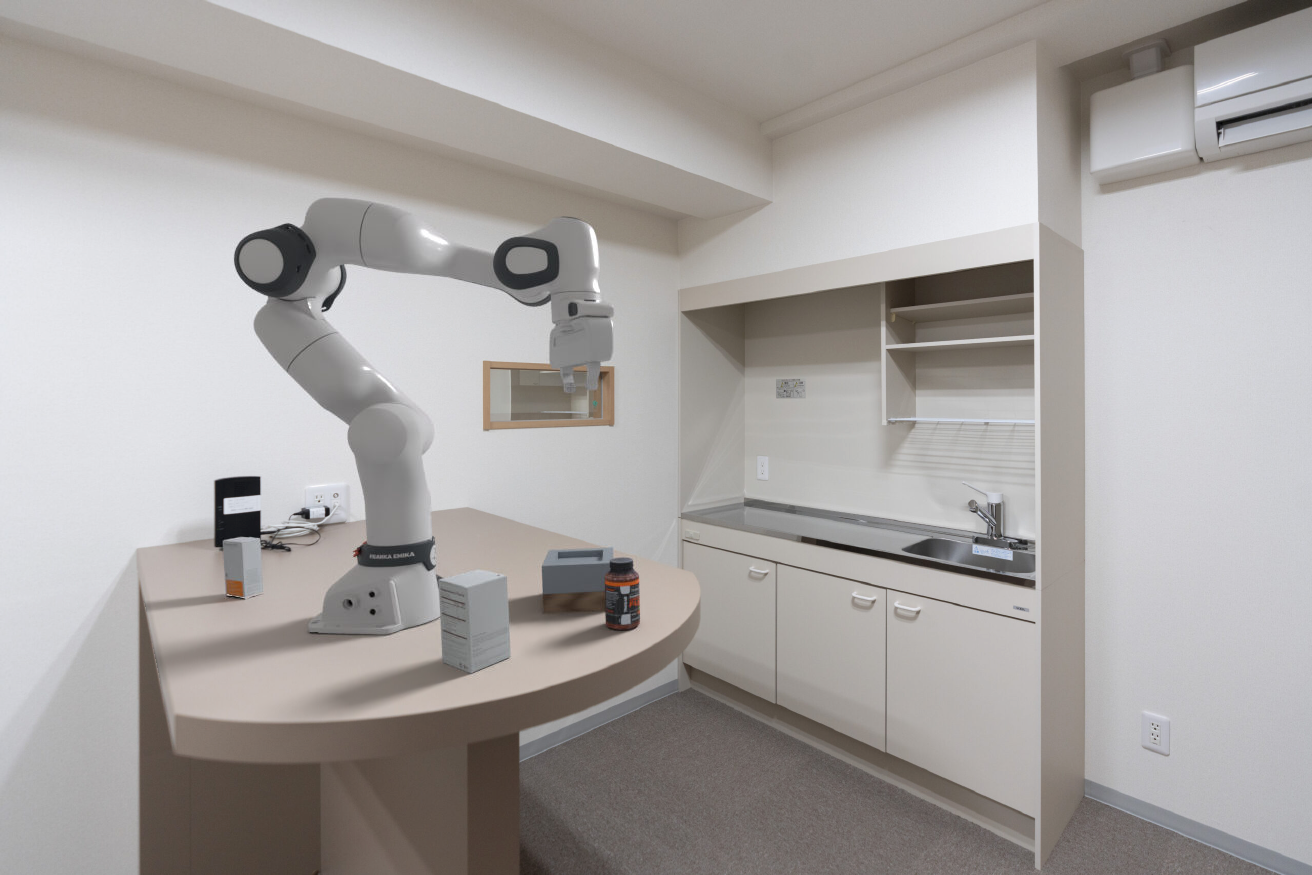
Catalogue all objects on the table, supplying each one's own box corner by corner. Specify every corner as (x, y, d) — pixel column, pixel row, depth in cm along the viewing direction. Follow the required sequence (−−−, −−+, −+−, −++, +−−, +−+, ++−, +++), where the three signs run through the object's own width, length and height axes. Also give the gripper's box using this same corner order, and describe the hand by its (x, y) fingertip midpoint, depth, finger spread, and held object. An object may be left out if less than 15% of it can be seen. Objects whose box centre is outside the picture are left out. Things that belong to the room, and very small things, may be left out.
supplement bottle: (636, 632, 103) (634, 564, 103) (601, 630, 104) (599, 563, 104) (643, 619, 109) (642, 555, 108) (611, 618, 110) (609, 555, 110)
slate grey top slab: (542, 594, 114) (541, 565, 114) (549, 575, 127) (549, 549, 127) (613, 590, 115) (613, 562, 115) (613, 572, 128) (613, 547, 128)
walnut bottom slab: (543, 615, 114) (542, 594, 114) (551, 594, 127) (550, 575, 127) (614, 612, 115) (613, 591, 115) (614, 591, 128) (614, 572, 128)
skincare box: (224, 597, 130) (221, 540, 129) (245, 591, 134) (241, 536, 133) (244, 599, 128) (241, 542, 127) (264, 593, 132) (261, 537, 131)
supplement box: (482, 646, 99) (479, 567, 98) (512, 657, 94) (508, 574, 93) (440, 662, 93) (436, 578, 92) (469, 674, 88) (465, 586, 88)
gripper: (539, 320, 117) (542, 394, 118) (583, 302, 100) (587, 389, 100) (570, 321, 121) (573, 393, 121) (618, 304, 103) (622, 388, 104)
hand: (580, 391), depth 111 cm, fingers open, 8 cm apart
